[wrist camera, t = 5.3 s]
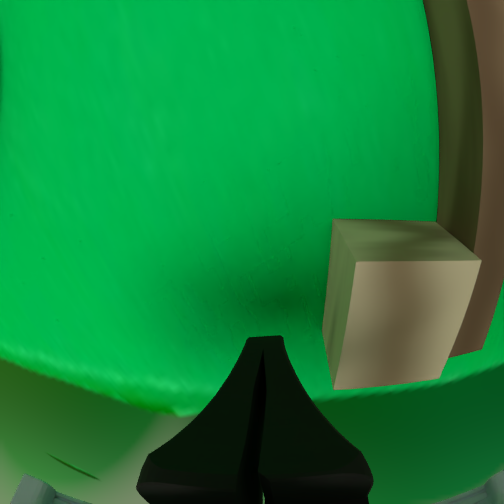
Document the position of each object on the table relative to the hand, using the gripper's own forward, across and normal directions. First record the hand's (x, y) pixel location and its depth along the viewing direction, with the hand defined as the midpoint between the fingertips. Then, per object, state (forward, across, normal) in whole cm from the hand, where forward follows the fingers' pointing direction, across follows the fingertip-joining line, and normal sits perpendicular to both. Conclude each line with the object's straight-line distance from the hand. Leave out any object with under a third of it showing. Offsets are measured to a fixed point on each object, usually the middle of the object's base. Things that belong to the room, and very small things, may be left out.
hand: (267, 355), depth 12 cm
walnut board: (+6, -11, -6) cm, 14 cm away
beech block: (+6, -6, 0) cm, 9 cm away
